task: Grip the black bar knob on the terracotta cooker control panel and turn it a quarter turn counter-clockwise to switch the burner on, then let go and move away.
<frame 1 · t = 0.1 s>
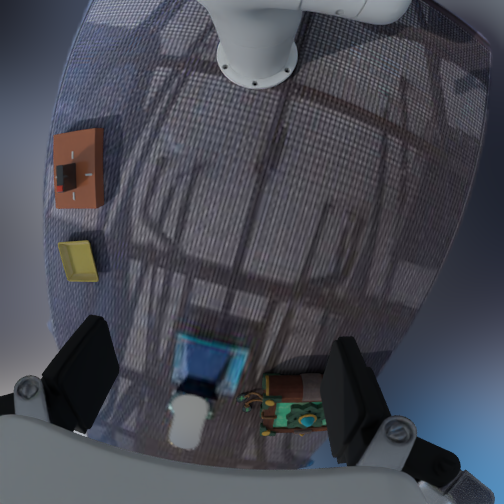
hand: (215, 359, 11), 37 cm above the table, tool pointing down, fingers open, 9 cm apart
saucer: (82, 257, 50), on the table
hob knob: (66, 177, 39), point 5 cm above the table, hinge at 0.0°
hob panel: (81, 168, 43), on the table
book: (291, 396, 61), on the table
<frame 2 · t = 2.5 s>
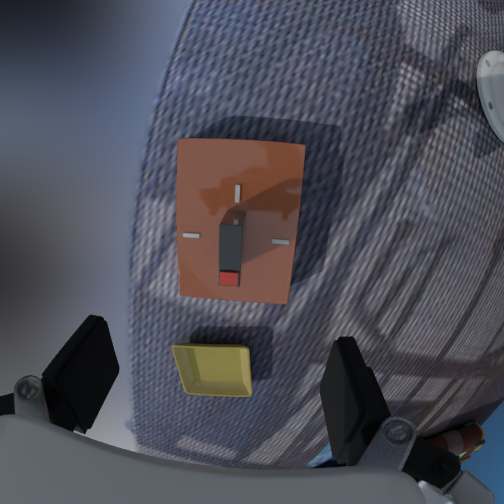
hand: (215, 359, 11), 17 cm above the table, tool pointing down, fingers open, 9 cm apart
saucer: (216, 361, 32), on the table
hob knob: (232, 247, 21), point 5 cm above the table, hinge at 0.0°
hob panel: (239, 217, 26), on the table
book: (418, 452, 44), on the table
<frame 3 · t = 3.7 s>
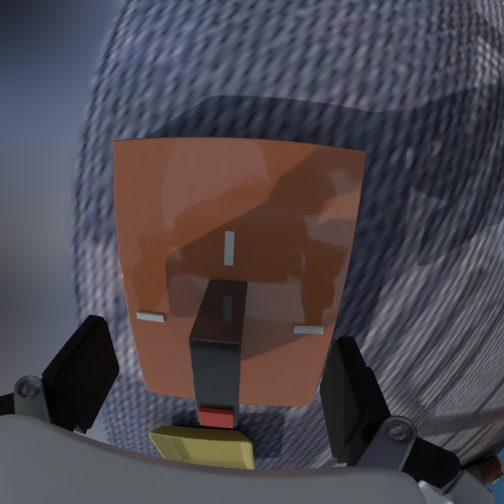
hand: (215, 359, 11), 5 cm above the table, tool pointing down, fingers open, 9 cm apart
saucer: (209, 441, 22), on the table
hob knob: (222, 355, 11), point 5 cm above the table, hinge at 0.0°
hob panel: (234, 275, 15), on the table
book: (433, 486, 33), on the table
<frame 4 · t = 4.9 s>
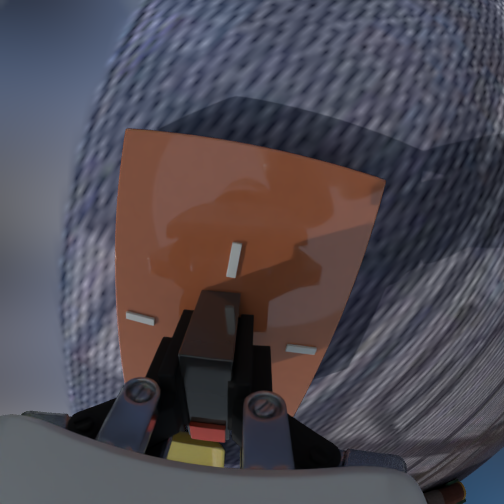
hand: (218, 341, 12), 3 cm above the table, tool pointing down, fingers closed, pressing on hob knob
saucer: (179, 443, 21), on the table
hob knob: (213, 369, 10), point 5 cm above the table, hinge at 7.2°, touching gripper
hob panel: (229, 284, 14), on the table
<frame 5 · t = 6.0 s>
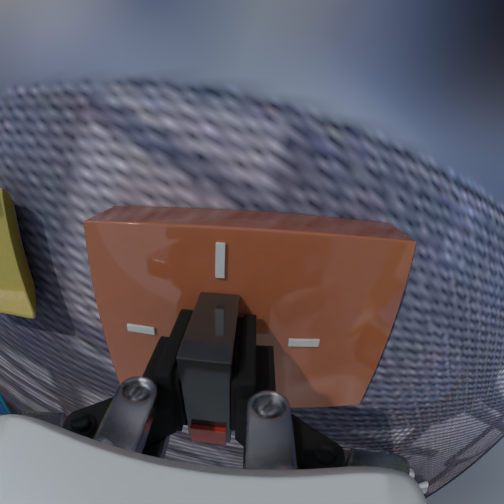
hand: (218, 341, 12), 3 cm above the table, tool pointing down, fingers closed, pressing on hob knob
saucer: (3, 247, 14), on the table
hob knob: (213, 371, 10), point 5 cm above the table, hinge at 90.0°, touching gripper
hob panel: (245, 304, 15), on the table
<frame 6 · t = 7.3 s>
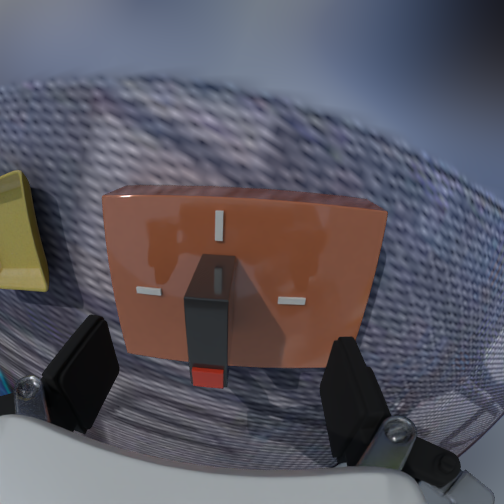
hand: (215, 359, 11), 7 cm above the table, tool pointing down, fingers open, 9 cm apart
saucer: (17, 228, 16), on the table
hob knob: (213, 321, 12), point 5 cm above the table, hinge at 89.8°
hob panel: (240, 271, 17), on the table
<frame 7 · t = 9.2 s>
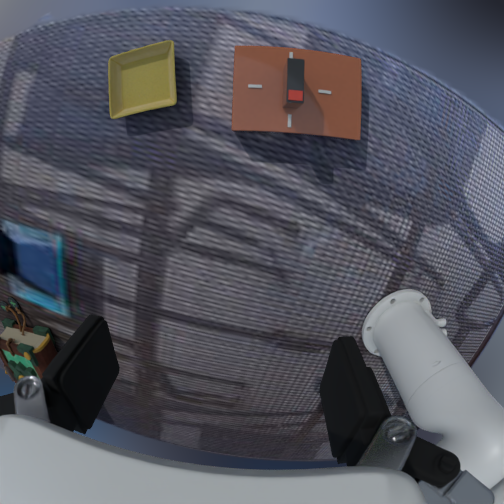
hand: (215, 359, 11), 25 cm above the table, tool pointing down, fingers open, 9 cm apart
saucer: (146, 82, 28), on the table
hob knob: (293, 84, 24), point 5 cm above the table, hinge at 89.8°
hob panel: (295, 94, 28), on the table
book: (35, 348, 45), on the table
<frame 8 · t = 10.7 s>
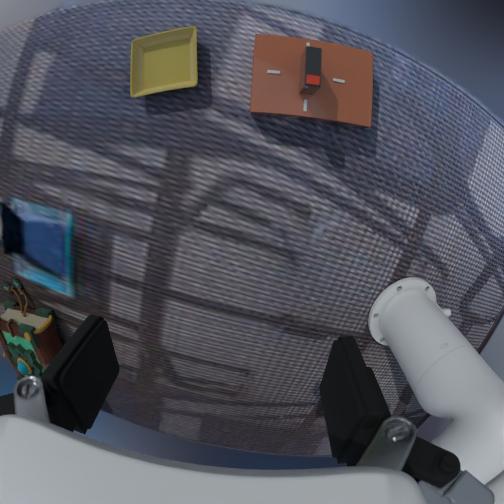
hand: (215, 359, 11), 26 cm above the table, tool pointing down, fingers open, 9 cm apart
saucer: (167, 64, 28), on the table
hob knob: (310, 70, 24), point 5 cm above the table, hinge at 89.8°
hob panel: (310, 82, 29), on the table
book: (36, 332, 45), on the table
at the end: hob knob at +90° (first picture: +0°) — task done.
